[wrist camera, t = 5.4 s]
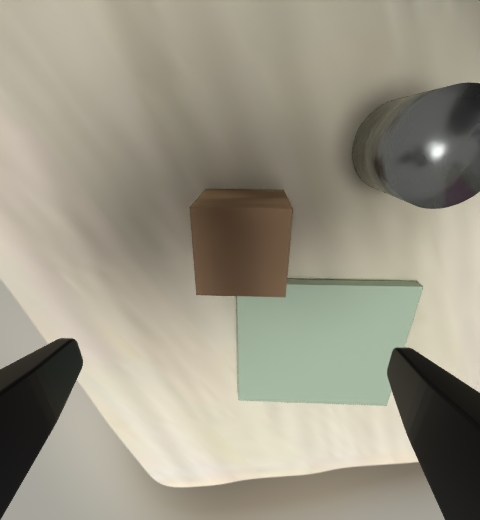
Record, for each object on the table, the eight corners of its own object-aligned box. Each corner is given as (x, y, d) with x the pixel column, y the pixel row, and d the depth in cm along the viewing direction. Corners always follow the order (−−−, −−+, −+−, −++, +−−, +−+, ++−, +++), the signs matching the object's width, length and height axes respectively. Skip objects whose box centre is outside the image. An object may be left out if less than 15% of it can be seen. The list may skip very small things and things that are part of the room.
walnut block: (283, 189, 18) (292, 208, 13) (278, 260, 20) (285, 297, 15) (206, 188, 18) (189, 207, 13) (209, 258, 20) (196, 295, 15)
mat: (417, 281, 20) (423, 286, 19) (382, 397, 25) (386, 405, 24) (237, 278, 20) (236, 283, 20) (238, 392, 25) (238, 400, 25)
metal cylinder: (451, 97, 15) (536, 81, 11) (427, 189, 17) (488, 208, 13) (359, 98, 15) (403, 83, 11) (346, 189, 17) (378, 208, 13)
